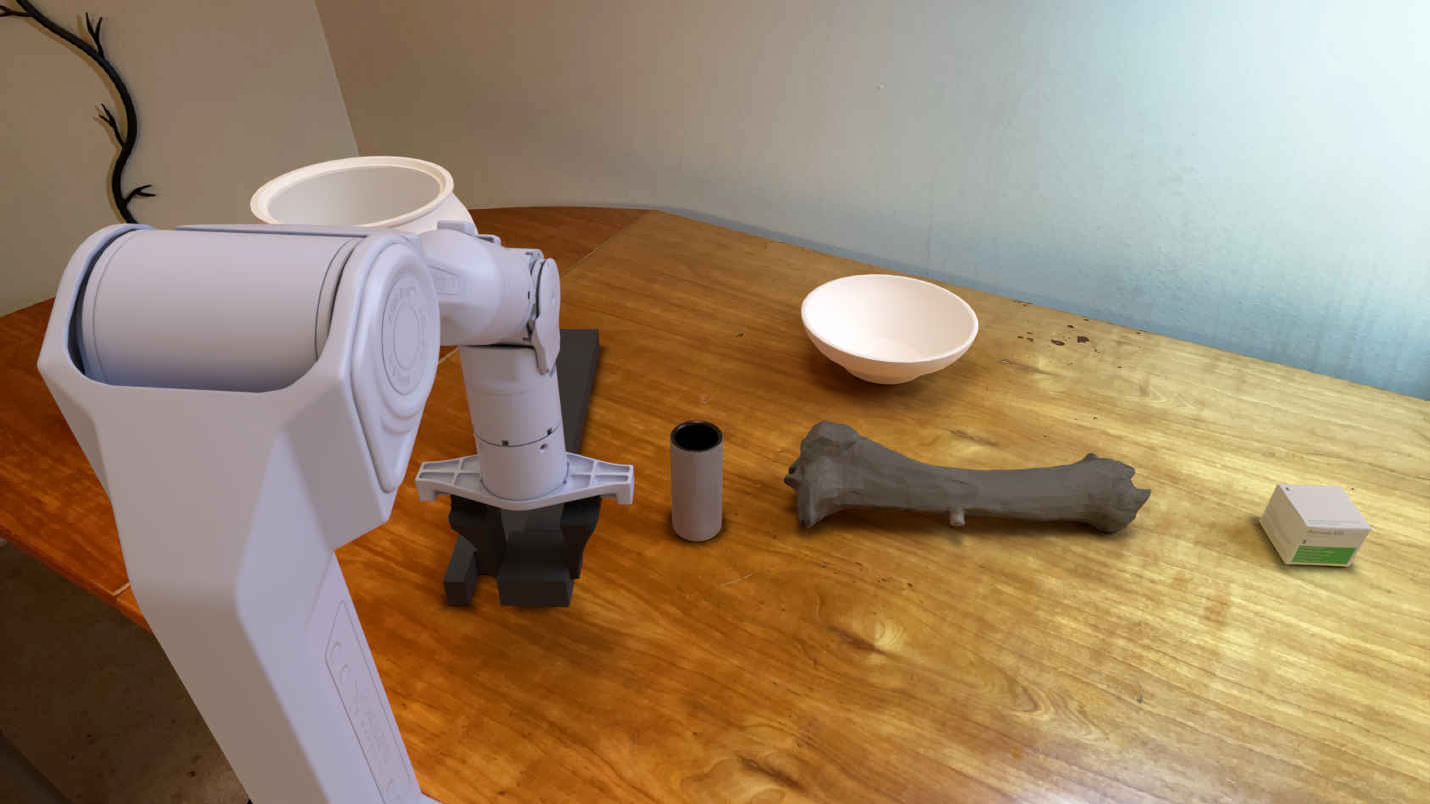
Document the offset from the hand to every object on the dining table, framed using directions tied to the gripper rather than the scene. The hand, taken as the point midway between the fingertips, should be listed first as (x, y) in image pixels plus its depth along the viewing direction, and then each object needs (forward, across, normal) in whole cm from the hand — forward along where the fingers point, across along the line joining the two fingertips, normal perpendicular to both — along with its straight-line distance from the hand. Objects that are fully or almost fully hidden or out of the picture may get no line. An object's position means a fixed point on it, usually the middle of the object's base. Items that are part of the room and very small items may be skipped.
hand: (539, 568), depth 67 cm
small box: (+9, -66, -13) cm, 67 cm away
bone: (+9, -35, -16) cm, 40 cm away
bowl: (+9, -32, -41) cm, 53 cm away
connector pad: (+1, 0, -1) cm, 2 cm away
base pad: (+8, +5, -24) cm, 26 cm away
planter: (+9, -11, -14) cm, 20 cm away
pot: (+9, +30, -52) cm, 60 cm away
